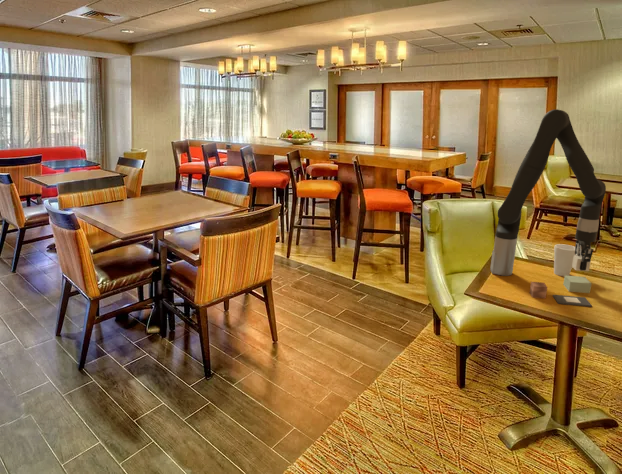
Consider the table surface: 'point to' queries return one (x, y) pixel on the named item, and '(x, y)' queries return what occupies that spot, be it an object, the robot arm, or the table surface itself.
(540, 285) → the terracotta cube
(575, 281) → the green block
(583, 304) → the card
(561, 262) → the foam cup
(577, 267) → the cream cube
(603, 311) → the table surface
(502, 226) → the robot arm
